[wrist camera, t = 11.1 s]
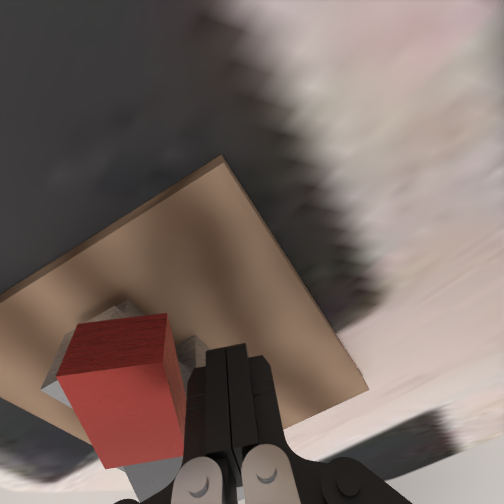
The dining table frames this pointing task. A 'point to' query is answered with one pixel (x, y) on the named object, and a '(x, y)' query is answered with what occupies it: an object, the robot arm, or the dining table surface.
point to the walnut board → (181, 298)
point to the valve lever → (129, 397)
